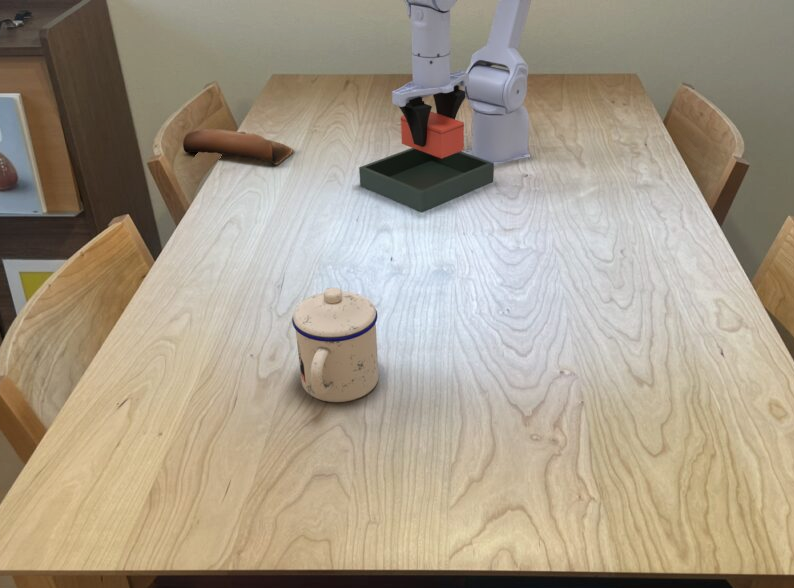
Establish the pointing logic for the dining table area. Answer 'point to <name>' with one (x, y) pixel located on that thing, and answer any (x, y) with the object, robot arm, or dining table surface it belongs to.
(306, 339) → the teacup with lid
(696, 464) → the dining table surface
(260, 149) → the sunglasses case
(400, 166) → the tote
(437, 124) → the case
